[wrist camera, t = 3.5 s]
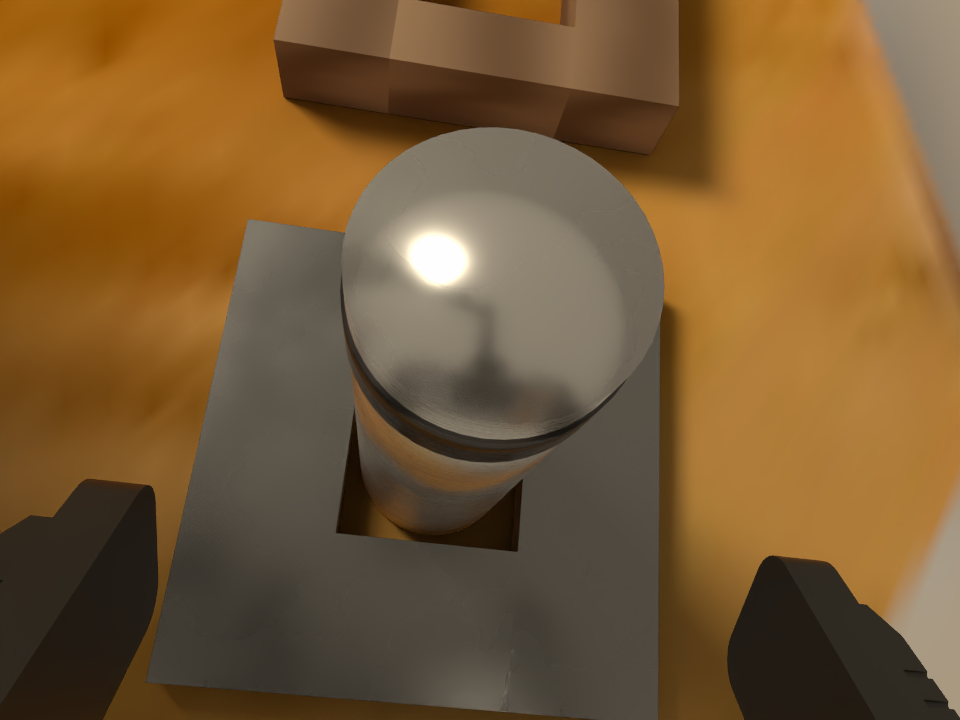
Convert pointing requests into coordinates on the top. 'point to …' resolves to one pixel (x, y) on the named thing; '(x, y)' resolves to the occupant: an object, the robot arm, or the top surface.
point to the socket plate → (399, 563)
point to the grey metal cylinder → (487, 315)
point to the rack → (491, 65)
